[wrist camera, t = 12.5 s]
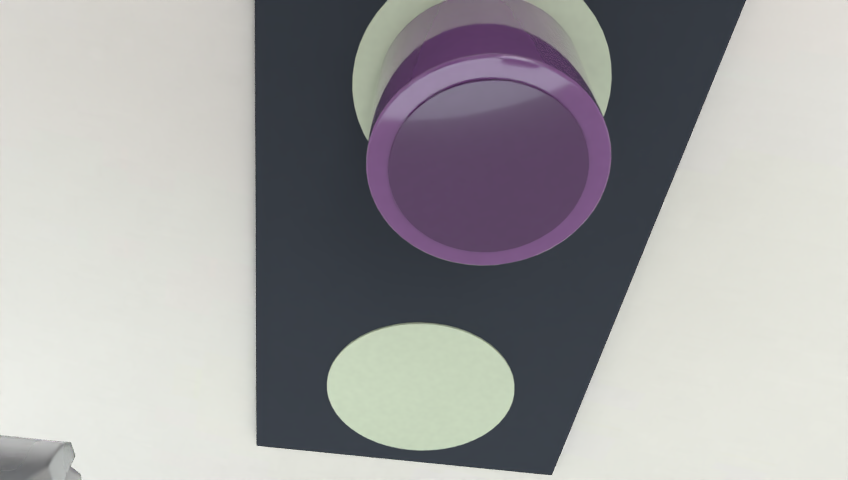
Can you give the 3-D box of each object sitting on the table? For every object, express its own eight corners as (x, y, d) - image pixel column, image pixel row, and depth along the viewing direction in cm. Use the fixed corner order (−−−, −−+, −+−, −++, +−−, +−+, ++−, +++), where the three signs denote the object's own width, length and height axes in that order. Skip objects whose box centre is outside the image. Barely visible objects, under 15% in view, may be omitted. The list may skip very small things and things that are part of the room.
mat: (258, -122, 19) (253, -117, 19) (756, -45, 20) (764, -39, 20) (258, 437, 34) (256, 448, 33) (550, 466, 35) (552, 477, 34)
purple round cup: (389, -23, 20) (377, 38, 17) (610, 9, 21) (647, 76, 17) (368, 169, 24) (355, 254, 20) (555, 193, 24) (575, 281, 21)
